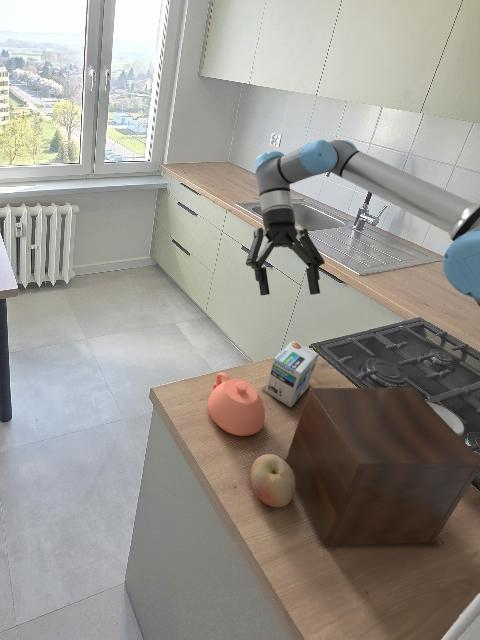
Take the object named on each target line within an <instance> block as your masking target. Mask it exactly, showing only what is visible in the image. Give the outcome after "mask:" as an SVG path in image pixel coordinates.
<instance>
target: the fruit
mask: <svg viewBox="0 0 480 640" xmlns="http://www.w3.org/2000/svg"><path fill="white" fill-rule="evenodd" d="M285 461H286V460H284V459H283V458H282V457H281V456H279V455H277V454H272V453H271V454H269V453H268V454H267V453H266V454H263V455H261V456H259V457H257V458H255V460H254V462H253V464H252V465H251V469H250V477H249V478H250V479H249V480H250V485H251V489H252V492H253V493H254V495H255V496H256V497H257V498H258V499H259V500H260V501H261V502H262V503H264V504H265V505H267V506H269V507H273V508H283V507H286V506H287V505H289V504H290V502H291V501H292V498H293V496H294V494H295V492H296V489H297V488H296V480H295V475H294V473H293V471H292V469H291V468H290V466H289V465H288V464H287V463H286V462H285Z"/></svg>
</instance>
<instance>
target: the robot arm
mask: <svg viewBox="0 0 480 640" xmlns="http://www.w3.org/2000/svg"><path fill="white" fill-rule="evenodd" d="M254 164H255V165H254V166H255V167H254V169H255V173H254V174H255V177H256V182H257V188H258V193H259V194H258V195H259V203H260V209H261V212H262V214H261V218H262V224H263V227H264V229H263V227H258V228H257V229H255V230H253V239H252V242H251V245H250V249H249V251H248V255H247V257H246V261H245V265H246V267H250V268H251V269H252V270H253V272H254V277H255V278H254V279H255V281H256V282H258V287H259V293H260V296H267V295H270V294H271V292H270V286H269V277H268V273H267V272H268V271H267V267H266V266H264V264H265V263H266V262H267V260H268V258H269V256H270V255H271V253H272V251H273V250H274V248H280V247H281V248H288V249H290V250H292V251H293V252H294V254H295V255H297V257H298V258H299V259H300V260H301V261H302V262H303V263H304V264H305V265H306V266H307V268H305V272H306V273H305V274H306V277H307V278H306V279H307V284H308V290H309V295H319V294H321V289H320V283H319V281H320V279H321V277H320V272H319V267H321V266H322V265H325V264H326V261H325V259H324V258H323V257H322V254H321V253H320V252H319V250H318V248H317V247H316V245H315V243H314V242H313V241H312V239H311V237H310V234H309V231H308V229H307V228H302V229H296V216H295V211H294V209H293V208H294V203H293V199H292V193H291V186H290V185H293V184H295V183H297V182H301V181H304V180H307V179H309V178H312V177H315V176H319V175H322V174H326V173H331V174H334V175H335V176H337V177H340V178H341V179H344V180H345V181H348V182H349V183H351V184H353V185H355V186H357V187H359V188H361V189H363V190H365V191H367V192H368V193H371V194H372V195H375V196H377V197H378V198H381V199H383V200H384V201H386V202H387V203H390V204H392V205H393V206H396V207H398V208H400V209H402V210H403V211H405V212H407V213H409V214H411V215H413V216H415V217H418V218H419V219H421V220H423V221H425V222H426V223H428V224H430V225H433V226H434V227H436V228H438V229H440V230H442V231H444V232H445V233H448V235H449V239H450V240H451V242H452V241H453V242H452V243H451V244H450V245H449V246H448V247H447V249H446V250H445V252H444V255H443V258H442V269H443V272H444V276H445V278H446V280H447V281H448V283H449V284H450V285H451V286H452V287H453V288H454V289H455V290H457V291H458V292H459V293H461V295H462V294H463V295H464V296H468V297H470V298H472V299H473V300H474V301H475V302H476V303H477V305H478V306H479V307H480V202H472V201H470V200H468V199H466V198H463V197H462V196H460V195H458V194H455V193H453V192H451V191H449V190H447V189H444V188H442V187H440V186H437V185H436V184H433V183H431V182H428V181H427V180H424V179H422V178H420V177H417V176H415V175H413V174H411V173H408V172H406V171H405V170H403V169H400V168H398V167H396V166H393V165H391V164H388V163H387V162H385V161H382V160H381V159H379V158H376V157H373V156H371V155H369V154H367V153H365V152H363V151H361V150H359V149H357V147H356V145H355V144H354V143H353V142H351V141H349V140H347V139H346V140H345V139H334V140H331V141H327V140H326V139H318V140H315V141H312V142H309V143H306V144H305V145H303V146H301V147H299V148H297V149H295V150H292V151H290V152H289V153H286V154H284V153H283V152H281V151H278V150H272V151H268V152H264V153H261V154H260V155H258V156H257V157H256V159H255V161H254ZM264 238H266V239H267V241H266V242H265V243H264V247H263V248H262V249H261V247H262V244H263V240H264ZM260 250H261V251H260Z"/></svg>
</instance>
